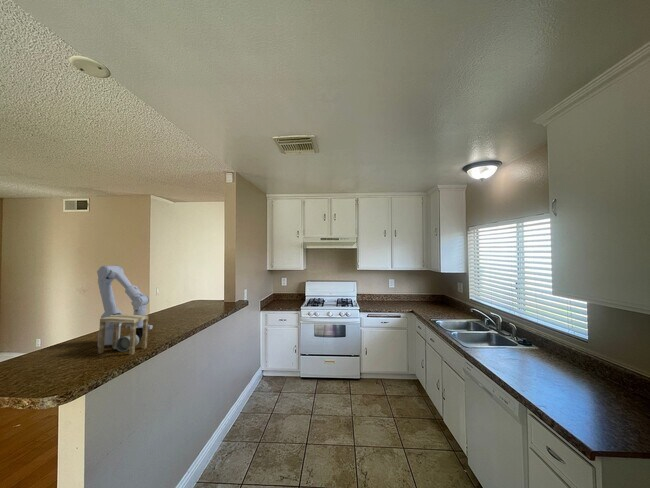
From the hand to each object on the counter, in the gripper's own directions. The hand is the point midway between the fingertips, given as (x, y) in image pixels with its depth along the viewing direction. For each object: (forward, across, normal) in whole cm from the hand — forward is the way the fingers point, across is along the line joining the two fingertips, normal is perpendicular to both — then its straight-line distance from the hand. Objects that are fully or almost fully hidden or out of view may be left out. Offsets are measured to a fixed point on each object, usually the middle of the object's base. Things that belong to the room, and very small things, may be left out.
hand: (138, 341), depth 144 cm
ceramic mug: (+2, -1, -8) cm, 8 cm away
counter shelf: (+1, 0, -10) cm, 10 cm away
